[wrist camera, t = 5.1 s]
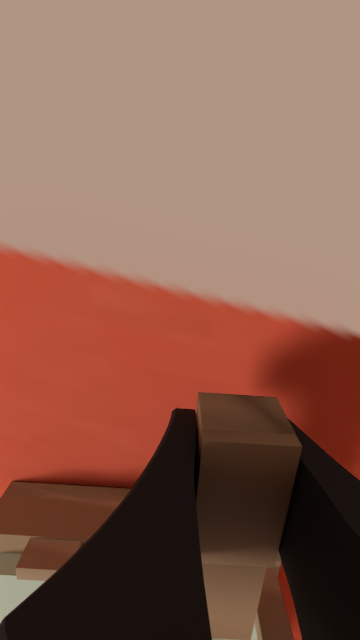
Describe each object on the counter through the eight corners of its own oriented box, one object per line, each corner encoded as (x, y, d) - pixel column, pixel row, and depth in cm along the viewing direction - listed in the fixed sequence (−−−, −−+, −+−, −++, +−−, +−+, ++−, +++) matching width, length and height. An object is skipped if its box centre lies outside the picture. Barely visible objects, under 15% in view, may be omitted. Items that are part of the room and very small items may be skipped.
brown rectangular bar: (241, 582, 11) (253, 657, 9) (179, 579, 11) (179, 653, 9) (276, 397, 9) (302, 446, 7) (198, 392, 9) (202, 440, 7)
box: (239, 632, 18) (264, 805, 12) (29, 620, 18) (-37, 790, 12) (267, 497, 15) (314, 651, 9) (11, 481, 14) (-86, 629, 9)
